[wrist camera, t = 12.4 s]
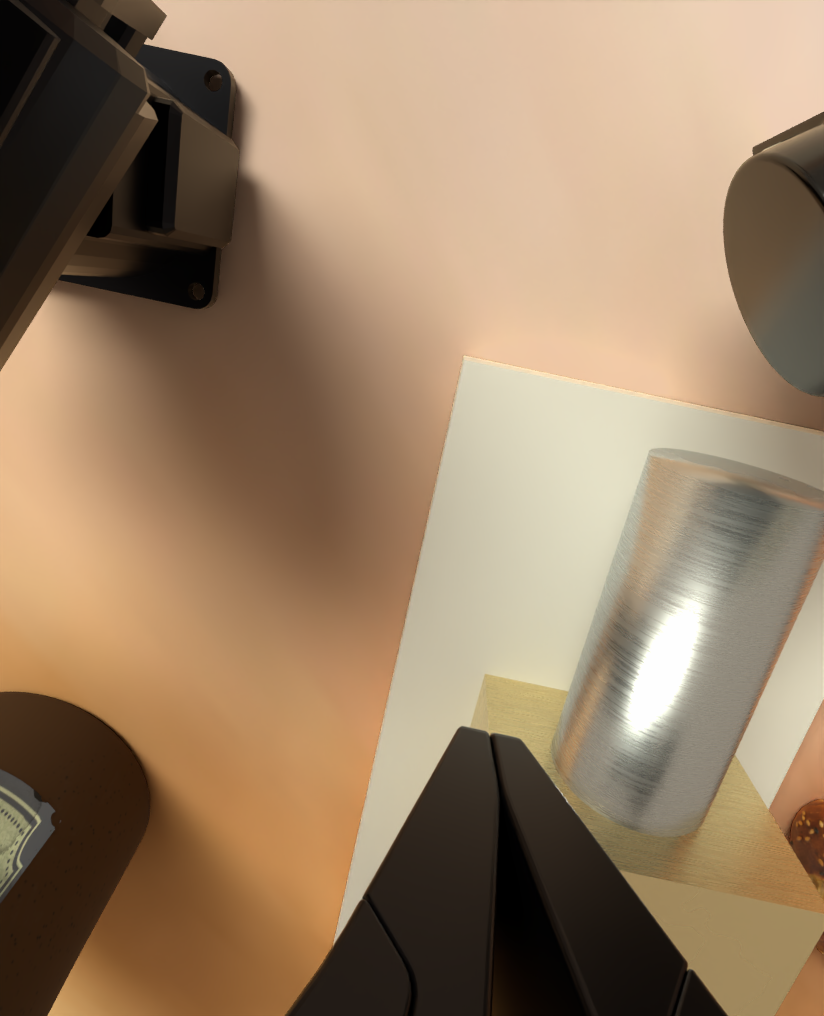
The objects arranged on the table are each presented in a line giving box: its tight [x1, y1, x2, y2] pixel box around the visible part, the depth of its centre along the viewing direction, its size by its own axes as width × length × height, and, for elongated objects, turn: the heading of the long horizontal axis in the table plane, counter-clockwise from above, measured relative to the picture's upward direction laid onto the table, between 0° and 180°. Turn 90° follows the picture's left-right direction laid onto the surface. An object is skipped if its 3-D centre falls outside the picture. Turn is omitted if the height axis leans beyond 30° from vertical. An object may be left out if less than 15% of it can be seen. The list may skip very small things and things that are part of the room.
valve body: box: [470, 448, 824, 1016], centre depth 19 cm, size 8×26×7 cm, turn 169°
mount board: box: [332, 355, 824, 947], centre depth 23 cm, size 14×28×2 cm, turn 169°
